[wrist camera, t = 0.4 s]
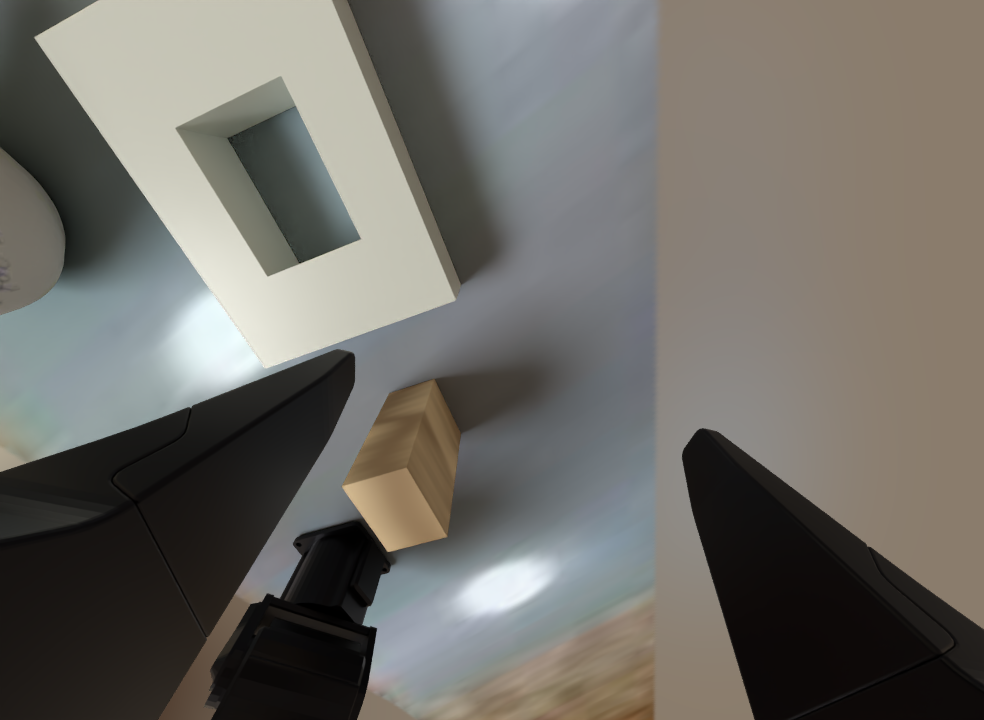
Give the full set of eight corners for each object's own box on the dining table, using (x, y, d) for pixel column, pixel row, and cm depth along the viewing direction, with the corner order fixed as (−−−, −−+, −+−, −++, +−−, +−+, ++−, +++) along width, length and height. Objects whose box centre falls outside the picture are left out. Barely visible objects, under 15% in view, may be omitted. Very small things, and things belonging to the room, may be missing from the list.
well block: (295, 345, 24) (265, 368, 21) (115, 64, 18) (34, 37, 15) (461, 285, 23) (455, 300, 19) (327, -50, 16) (286, -109, 13)
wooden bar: (418, 446, 28) (388, 552, 20) (389, 393, 26) (341, 486, 18) (460, 433, 27) (447, 537, 19) (434, 378, 25) (406, 467, 17)
